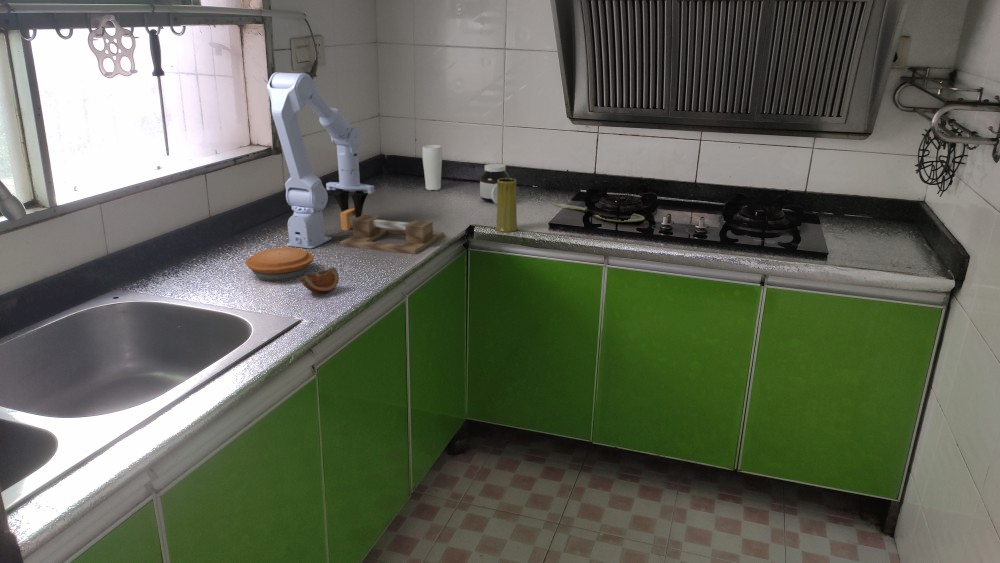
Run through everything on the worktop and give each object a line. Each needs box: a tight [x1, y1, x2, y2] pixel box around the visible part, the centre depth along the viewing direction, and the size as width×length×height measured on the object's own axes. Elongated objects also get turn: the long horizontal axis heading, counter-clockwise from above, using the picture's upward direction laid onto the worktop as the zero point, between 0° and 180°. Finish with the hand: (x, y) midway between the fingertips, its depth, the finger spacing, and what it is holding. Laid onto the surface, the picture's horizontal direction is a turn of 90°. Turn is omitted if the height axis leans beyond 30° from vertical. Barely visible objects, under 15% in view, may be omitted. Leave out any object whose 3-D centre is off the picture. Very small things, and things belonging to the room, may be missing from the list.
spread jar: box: [479, 163, 510, 205], centre depth 239 cm, size 12×11×12 cm
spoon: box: [555, 203, 645, 223], centre depth 225 cm, size 35×11×2 cm, turn 40°
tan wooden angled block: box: [339, 206, 364, 231], centre depth 213 cm, size 9×2×5 cm, turn 160°
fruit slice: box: [300, 267, 340, 295], centre depth 162 cm, size 8×7×5 cm
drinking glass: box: [421, 144, 443, 191], centre depth 257 cm, size 7×7×15 cm
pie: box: [244, 247, 314, 282], centre depth 174 cm, size 16×16×5 cm
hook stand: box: [339, 214, 445, 255], centre depth 199 cm, size 22×18×6 cm
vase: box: [495, 177, 518, 233], centre depth 208 cm, size 6×6×14 cm
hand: (352, 216), depth 213 cm, fingers open, 4 cm apart
